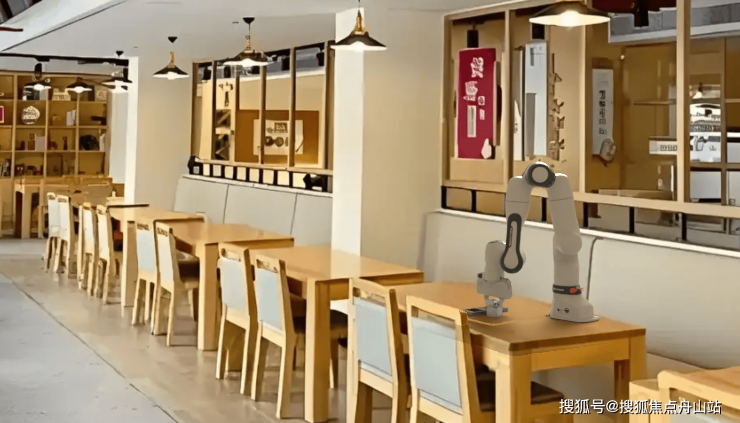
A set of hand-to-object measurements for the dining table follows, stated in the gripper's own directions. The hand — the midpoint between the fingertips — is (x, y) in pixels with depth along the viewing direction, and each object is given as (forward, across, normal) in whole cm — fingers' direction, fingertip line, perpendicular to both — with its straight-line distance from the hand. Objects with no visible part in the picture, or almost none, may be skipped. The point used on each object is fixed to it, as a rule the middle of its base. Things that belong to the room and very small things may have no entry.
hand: (493, 306), depth 395 cm
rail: (+3, 0, +6) cm, 7 cm away
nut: (+3, -9, +8) cm, 12 cm away
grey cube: (+2, 0, 0) cm, 2 cm away
